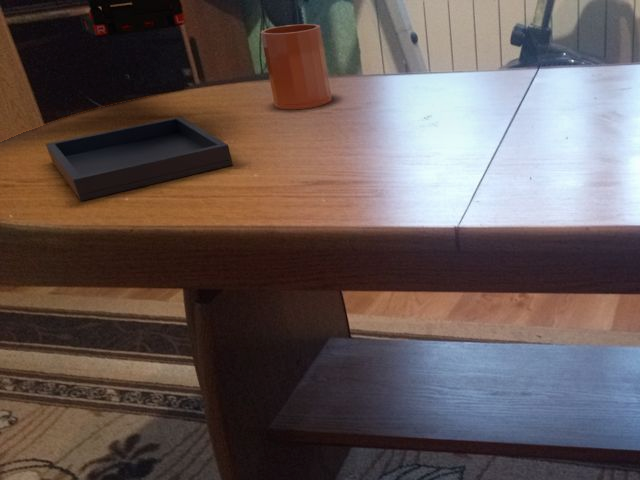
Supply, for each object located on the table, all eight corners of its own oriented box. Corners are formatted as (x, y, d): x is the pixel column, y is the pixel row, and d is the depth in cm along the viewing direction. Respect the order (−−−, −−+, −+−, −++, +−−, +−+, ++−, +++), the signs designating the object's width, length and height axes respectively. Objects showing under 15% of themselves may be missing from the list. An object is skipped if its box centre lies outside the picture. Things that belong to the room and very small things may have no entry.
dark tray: (52, 162, 80) (45, 143, 79) (185, 134, 86) (181, 116, 85) (81, 201, 68) (73, 179, 67) (233, 165, 74) (228, 144, 73)
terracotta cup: (266, 103, 98) (251, 30, 93) (317, 93, 101) (305, 22, 96) (288, 112, 92) (273, 36, 88) (341, 101, 96) (329, 27, 91)
